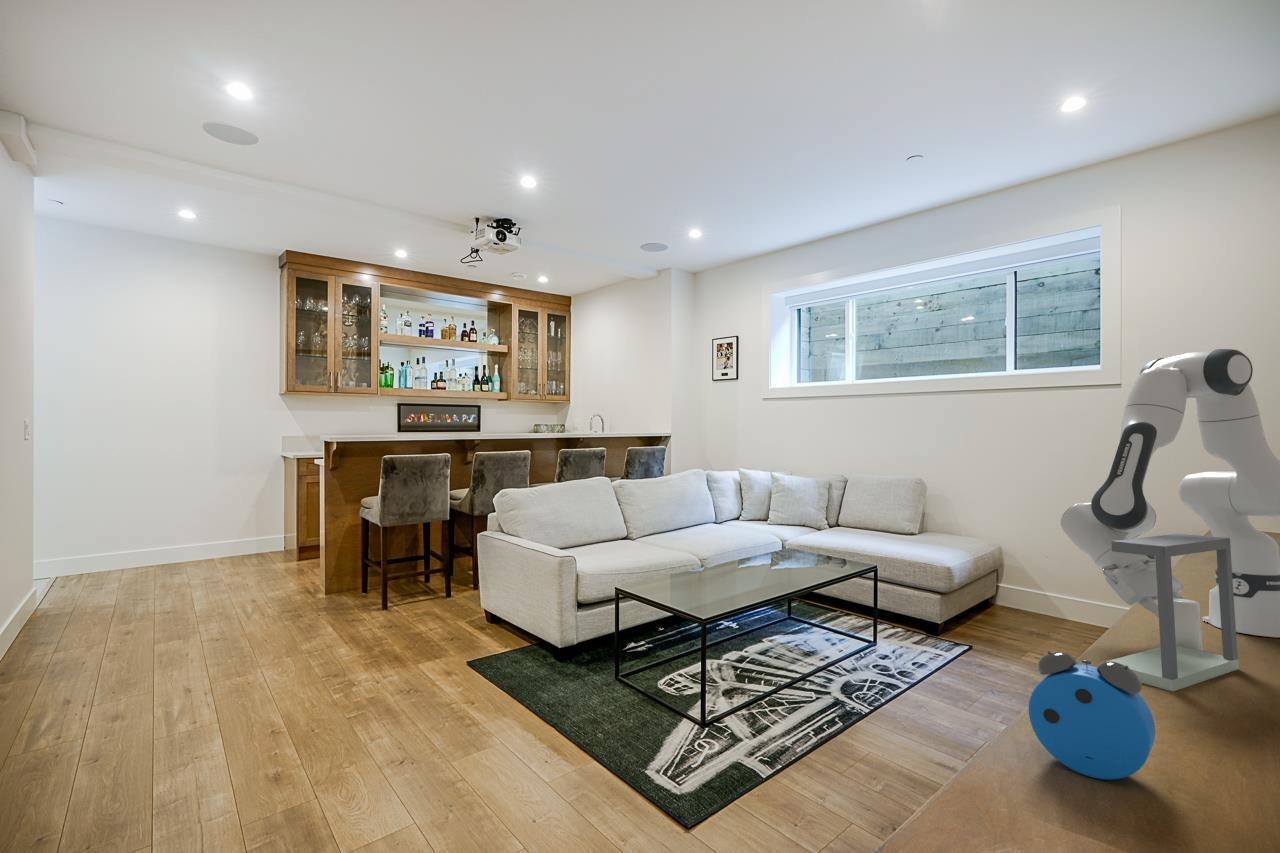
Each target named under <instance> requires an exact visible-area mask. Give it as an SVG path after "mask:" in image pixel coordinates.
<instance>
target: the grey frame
mask: <svg viewBox="0 0 1280 853" xmlns="http://www.w3.org/2000/svg"><path fill="white" fill-rule="evenodd" d="M1111 543H1112V551H1113V552H1122V553H1130V554H1139V555H1148V556H1155V560H1156V561H1155V562H1156V577H1157V594H1158V600H1157V605H1158V612H1159V618H1158V622H1159V623H1158V624H1159V625H1158V626H1159V627H1158V628H1159V639H1160V640H1159V641H1160V645H1159V646H1157V647H1154V648H1150V649H1147V650H1143V651H1140V652H1139V651H1138V652H1136V653H1132V654H1127V655H1125V656H1121V657H1116V658H1113V659H1110V660H1108V661H1112V662H1117V663H1120V664H1123V665H1125V666H1126V665H1127V666H1128V668H1130V669H1131V670H1132V671H1133V672H1134V673H1135V674H1136V675H1137V676H1138V678H1139V679H1140V681H1141V684H1144V685H1148V686H1152V687H1156V688H1159V689H1163V690H1167V691H1169V692H1175V691H1178V690H1183V689H1184V688H1188V687H1190V686H1193V685H1196V684H1199V683H1203V682H1205V681H1207V680H1211V679H1214V678H1217V677H1221V676H1223V675H1225V674H1229V673H1230V672H1231V673H1232V672H1234V671H1237V670H1239V660H1238V658H1239V657H1238V656H1239V654H1238V644H1237V643H1238V642H1237V641H1238V640H1237V632H1236V624H1235V609H1234V594H1233V578H1232V563H1231V548H1230V538H1223V537H1213V536H1210V535H1207V536H1206V535H1197V534H1183V533H1172V534H1165V535H1164V534H1162V535H1154V536H1147V537H1145V536H1144V537H1134V538H1132V539H1126V540H1117V541H1111ZM1212 551H1215V554H1216V553H1217V556H1216V563H1217V564H1216V565H1217V566H1216V567H1217V568H1218V584H1219V599H1220V615H1221V628H1220V629H1221V631H1220V632H1221V644H1222V645H1221V646H1222V655H1221V654H1217V653H1213V652H1208V651H1205V650H1204V651H1203V650H1202V651H1199V650H1195V649H1190V648H1185V647H1181V646H1176V637H1175V620H1174V603H1173V586H1172V574H1173V572H1172V571H1173V570H1172V557H1177V556H1178V557H1179V556H1186V555H1192V554H1198V553H1205V552H1212ZM1217 568H1216V569H1217Z"/></svg>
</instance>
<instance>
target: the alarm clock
mask: <svg viewBox="0 0 1280 853" xmlns="http://www.w3.org/2000/svg"><path fill="white" fill-rule="evenodd" d="M1081 663H1082V664H1078V661H1077V660H1076V659H1075V658H1074V657H1073V656H1072V655H1071V654H1069V653H1067V652H1063V651H1052V652H1051V651H1050V650H1048V651H1047V653H1046V654H1044V655H1042V656H1041V657H1040V658H1039V660H1038V662H1037V670H1038V672H1039V674H1040V675H1042V676H1044V675H1046V676H1045V677H1044V678H1043V679H1042V680H1041V681H1040V682H1039V683H1038V684H1037V685H1036V686H1035V688H1034V689H1033V690H1032V692H1031V694H1030V697H1029V701H1028V717H1029V721H1030V725H1031V728H1032V729H1033V732H1034V734H1035V736H1036V737H1037V738H1036V739H1038V741H1039V742H1040V744H1041V745H1042V746H1043V747H1044V748H1045V750H1046V751H1047V752H1048V753H1049V754H1050V755H1051V756H1052V757H1053V758H1054V759H1056V760H1057V761H1058V762H1059V763H1060V764H1062V765H1064V766H1065V767H1067V768H1068V769H1070V770H1073V771H1074V772H1076V773H1079V774H1081V775H1083V776H1087V777H1090V778H1094V779H1099V780H1119V779H1120V780H1121V779H1124V778H1126V777H1129V776H1130V777H1131V775H1134V774H1135V773H1137V772H1138V771H1140V769H1141V768H1142V767H1143V766H1144V765H1145V764H1146V763H1147V760H1148V758H1149V755H1150V753H1151V750H1152V747H1153V745H1154V743H1155V737H1156V726H1155V720H1154V716H1153V715H1152V712H1151V709H1150V707H1149V706H1148V704H1147V702H1146V701H1145V699H1144V698H1143V697H1142V696H1141V694H1140V693H1141V691H1142V686H1143V685H1142V683H1141V681H1140V679H1139V678H1138V676H1137V675H1136V674H1135V673H1134V672H1133V671H1132V670H1131V669H1130V668H1128V666H1127V665H1126V666H1125V665H1123V664H1120V663H1117V662H1112V661H1109V660H1106V661H1103V662H1101V663H1099V664H1098V665H1097V666H1093V665H1092V661H1091V660H1085V659H1081Z"/></svg>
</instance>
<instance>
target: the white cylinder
mask: <svg viewBox="0 0 1280 853" xmlns="http://www.w3.org/2000/svg"><path fill="white" fill-rule="evenodd" d="M1173 603H1174V620H1175V637H1176V646H1181V647H1185V648H1190V649H1195V650H1199V651H1203V640H1202V638H1203V637H1202V627H1201V626H1202V624H1201V623H1202V622H1201V608H1200V607H1201V606H1200V602H1198V601H1196V600H1192V599H1187V598H1185V599H1184V598H1183V599H1177V598H1173Z"/></svg>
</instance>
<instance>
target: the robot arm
mask: <svg viewBox="0 0 1280 853" xmlns="http://www.w3.org/2000/svg"><path fill="white" fill-rule="evenodd" d="M1253 372H1254V371H1253V365H1252V362H1251V360H1250V359H1249V357H1248V356H1247V355H1246V354H1244V353H1243V352H1242V351H1240V350H1238V349H1233V348H1232V349H1231V348H1217V349H1215V350H1199V351H1192V352H1191V351H1190V352H1186V353H1184V354H1177V355H1173V356H1169V357H1161V358H1157V359H1154V360H1151V361H1148V363H1147V362H1146V364H1145V365H1144V366H1143V367H1142V369H1141V370H1140V372H1139V373H1138V376H1137V377H1136V380H1135V382H1134V383H1133V385H1132V388H1131V389H1130V391H1129V394H1128V397H1127V400H1126V404H1125V406H1124V411H1123V415H1122V421H1121V430H1120V437H1119V443H1118V445H1117V449H1116V451H1115V455H1114V458H1113V461H1112V465H1111V469H1110V472H1109V473H1108V474H1109V475H1108V477H1107V479H1106V480H1105V481H1104V483H1103V484H1102V485H1101V486H1100V488H1099V489H1098V490H1097V491H1096V492H1095V493H1094V494H1093V496H1092V499H1091V502H1085V503H1084V502H1083V503H1082V502H1077V503H1075V504H1073V505H1072V506H1070V507H1068V508H1067V510H1066V511H1065V512H1064V513H1063V514H1062V516H1061V518H1060V527H1061V530H1062V531H1063V532H1064V534H1065V535H1066V536H1067V537H1068V539H1070V540H1071V542H1073V544H1074V545H1075V546H1076V547H1077V548H1078V549H1079V550H1080V551H1081V552H1084V553H1085V554H1086V555H1087V556H1089V557H1090V558H1091V560H1092V562H1093V563H1094V565H1096V567H1098V569H1099V570H1100V571H1101V572H1102V574H1103V575H1104V576H1105V581H1106V583H1107V584H1108V586H1109V587H1110V588H1111V590H1113V591H1114V593H1116V594H1117V595H1118V597H1119V598H1120V599H1121V600H1122V601H1123V602H1125V603H1126V604H1128V605H1129V606H1133V605H1138V604H1140V606H1142V608H1144V609H1146V610H1147V611H1148V612H1151V613H1152V614H1154V615H1155V616H1156V617H1157V619H1159V612H1158V603H1155V601H1158V594H1157V577H1156V560H1155V556H1148V555H1139V554H1130V553H1122V552H1113V551H1112V543H1111V541H1117V540H1126V539H1135V538H1138V536H1141V535H1143V534H1145V533H1147V532H1149V531H1150V530H1151V529H1153V528H1154V526H1155V523H1156V522H1157V513H1156V511H1155V508H1153V506H1152V505H1151V504H1150V503H1149V502H1148V501H1147V500H1146V498H1145V495H1144V489H1143V487H1144V486H1143V485H1144V482H1145V478H1146V476H1147V473H1148V469H1149V466H1150V461H1151V458H1152V456H1153V455H1154V453H1155V452H1156V451H1157V450H1158V449H1159V448H1163V447H1165V446H1168V445H1170V444H1171V443H1173V442H1174V441H1175V439H1176V437H1177V435H1178V434H1179V431H1180V429H1181V427H1182V424H1183V419H1184V415H1185V412H1186V404H1187V399H1189V398H1190V399H1191V398H1195V403H1196V404H1195V406H1196V408H1195V409H1196V416H1197V421H1198V426H1199V427H1198V428H1199V431H1200V436H1201V441H1202V446H1203V448H1204V450H1205V451H1206V452H1207V453H1208V454H1209V455H1211V456H1213V457H1216V458H1218V459H1221V460H1222V461H1224V462H1226V463H1228V465H1230V467H1231V468H1232V469H1233V470H1234V471H1233V470H1232V471H1231V470H1230V471H1229V470H1228V471H1227V470H1226V471H1225V470H1224V471H1220V470H1219V471H1218V470H1212V471H1211V470H1209V471H1202V472H1195V473H1190V474H1187V475H1185V477H1183V478H1182V480H1181V481H1180V483H1179V485H1178V496H1179V497H1178V498H1179V499H1180V501H1181V502H1182V503H1183V504H1184V506H1185V507H1186V508H1188V509H1190V510H1191V511H1193V512H1194V513H1195V514H1197V516H1199V517H1200V518H1201V520H1202V521H1203V522H1204V523H1205V525H1206V526H1207V528H1208V529H1209V531H1210V533H1211V535H1212V537H1223V538H1230V548H1231V563H1232V578H1233V594H1234V609H1235V624H1236V633H1241V634H1245V635H1246V634H1247V635H1252V636H1261V637H1269V638H1280V546H1279V543H1278V542H1277V541H1276V540H1275V539H1274V538H1273V537H1272V536H1270V535H1269V534H1267V533H1265V532H1263V531H1261V530H1259V529H1257V528H1256V527H1255V526H1254V525H1253V524H1252V523H1251V521H1250V520H1249V517H1265V518H1266V517H1267V518H1280V459H1279V458H1278V457H1277V455H1275V454H1274V452H1273V451H1272V450H1271V448H1270V447H1269V444H1268V441H1267V439H1266V436H1265V432H1264V429H1263V424H1262V420H1261V414H1260V409H1259V406H1258V402H1257V398H1256V397H1255V394H1254V391H1253V390H1252V387H1251V385H1250V382H1251V379H1252V377H1253ZM1215 555H1216V556H1215V557H1217V553H1216V552H1215ZM1214 571H1215V573H1214V578H1215V583H1216V584H1217V585H1216V586H1215V587H1214V588H1212V589H1210V590H1209V599H1208V600H1209V601H1208V602H1209V603H1208V604H1209V605H1208V615H1207V616H1206V615H1205V616H1203V617H1202V620H1203V622H1204V621H1205V623H1207V622H1208V624H1211V625H1212V626H1214V627H1216V628H1219V629H1221V615H1220V599H1219V584H1218V568H1216V569H1215V570H1214ZM1172 586H1173V598H1177V599H1184V598H1183V597H1182V595H1181V594H1180V593H1181V592H1183V591H1184V590H1185V588H1184V586H1183V584H1182V583H1181V581H1180V580H1179V579H1177V577H1175V575H1174V574H1173V573H1172Z"/></svg>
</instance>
